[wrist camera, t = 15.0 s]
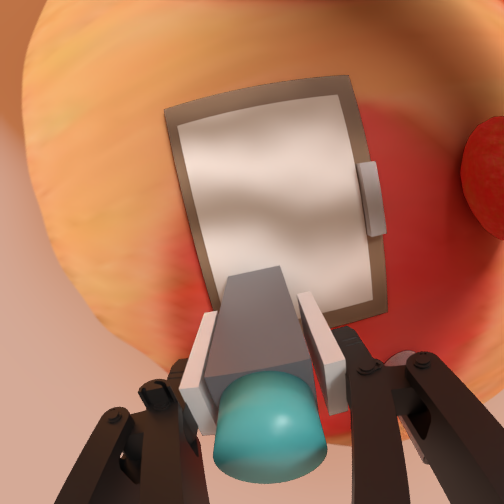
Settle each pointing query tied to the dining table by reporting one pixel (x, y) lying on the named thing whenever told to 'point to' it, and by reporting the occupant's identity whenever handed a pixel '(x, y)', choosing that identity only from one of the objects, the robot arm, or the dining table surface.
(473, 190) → the apple
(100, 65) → the dining table surface
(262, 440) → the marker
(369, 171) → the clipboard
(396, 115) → the dining table surface
